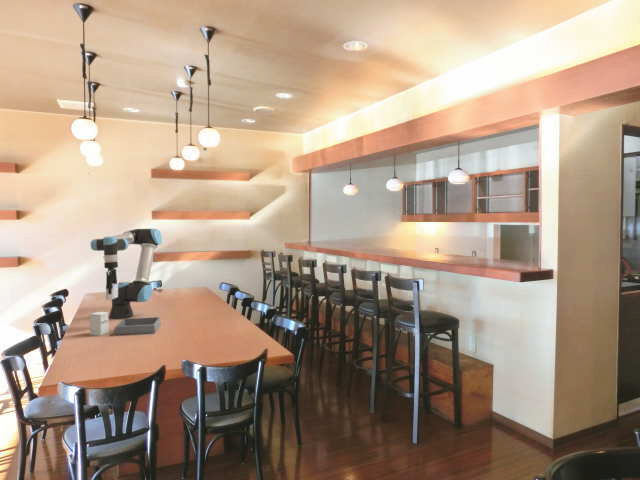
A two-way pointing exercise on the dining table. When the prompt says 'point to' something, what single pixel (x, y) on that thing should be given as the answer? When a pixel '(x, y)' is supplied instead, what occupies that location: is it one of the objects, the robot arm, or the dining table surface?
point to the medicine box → (115, 291)
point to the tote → (138, 326)
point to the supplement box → (99, 323)
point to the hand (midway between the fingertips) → (112, 297)
